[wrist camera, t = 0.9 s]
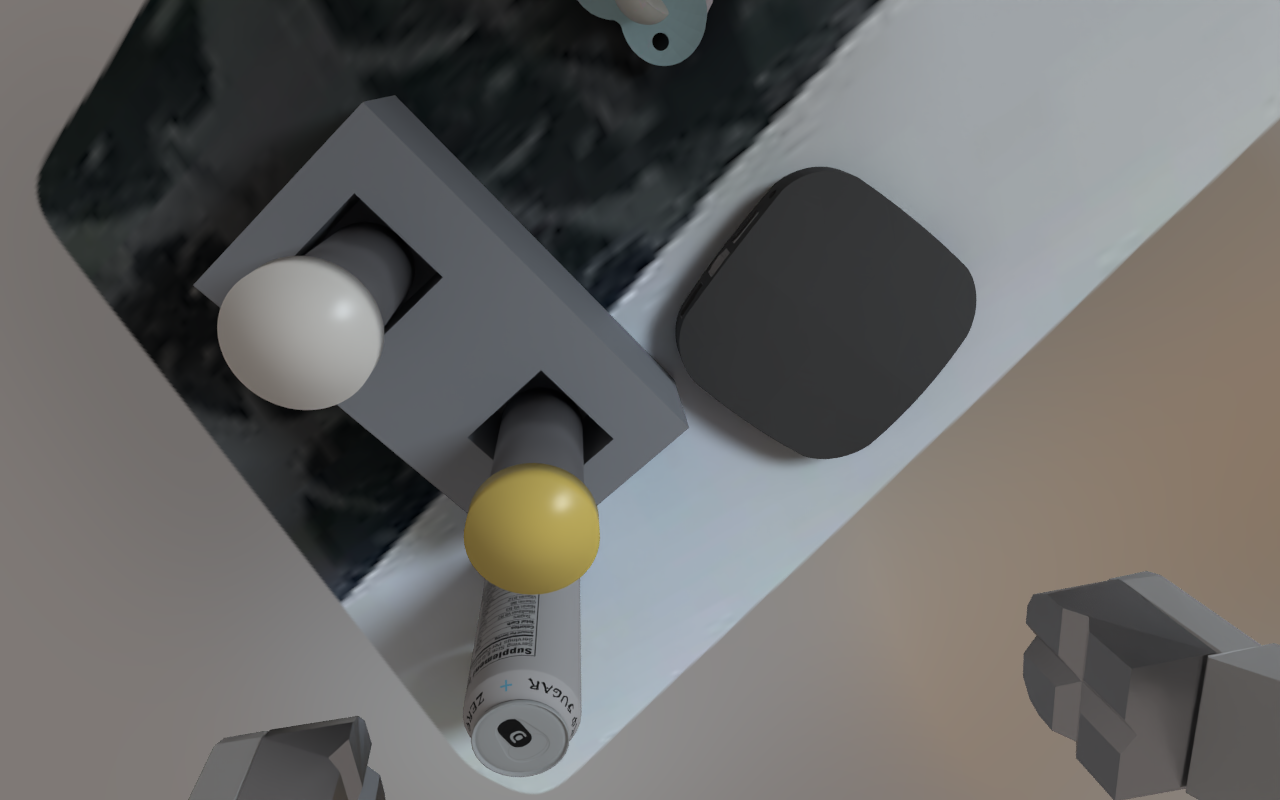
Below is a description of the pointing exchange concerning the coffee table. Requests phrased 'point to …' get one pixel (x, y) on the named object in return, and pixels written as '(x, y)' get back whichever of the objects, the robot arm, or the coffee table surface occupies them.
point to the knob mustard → (535, 499)
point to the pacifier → (656, 25)
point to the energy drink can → (524, 679)
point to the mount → (462, 311)
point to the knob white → (316, 317)
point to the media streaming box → (825, 314)
